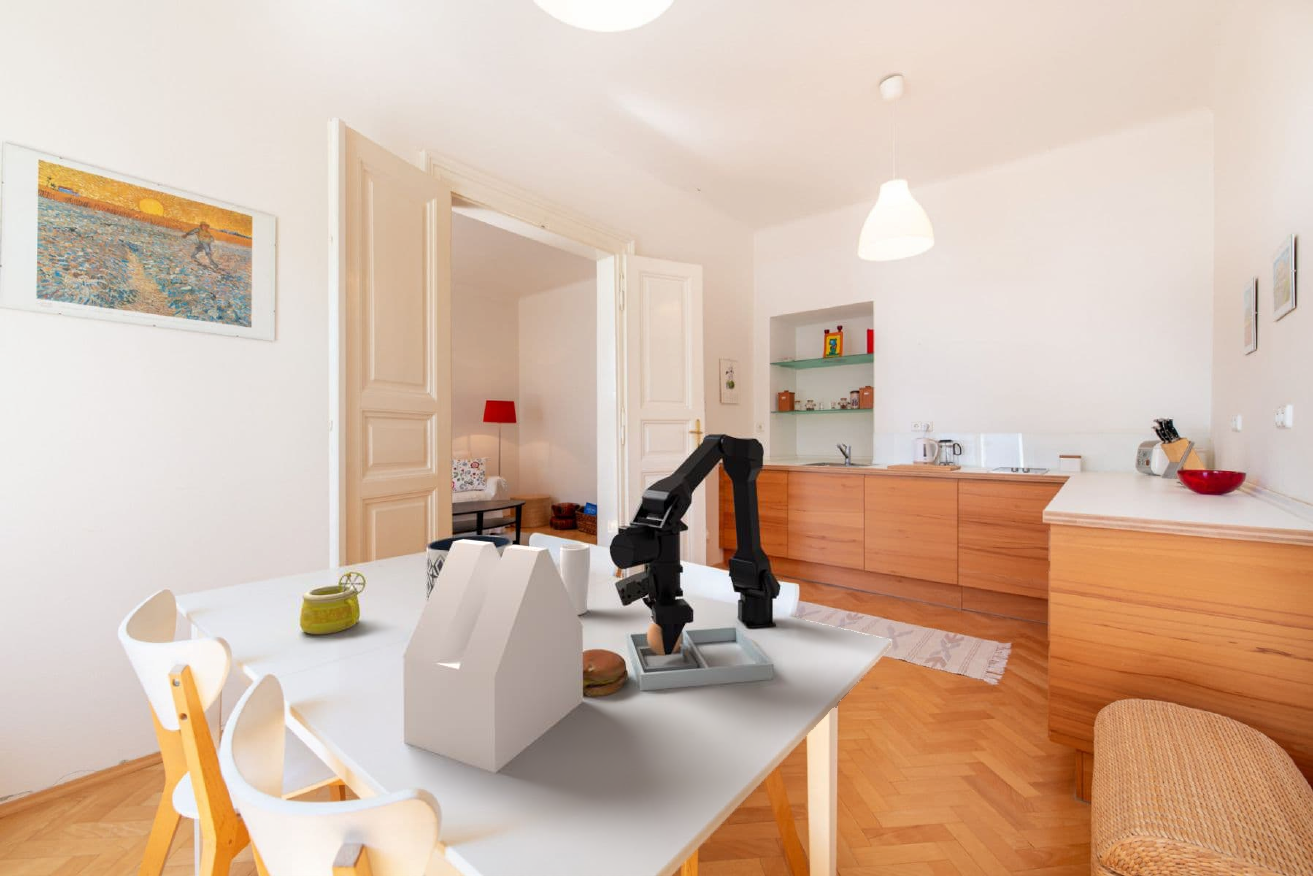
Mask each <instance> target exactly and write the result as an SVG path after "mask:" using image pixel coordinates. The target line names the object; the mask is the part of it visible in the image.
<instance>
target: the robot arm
mask: <svg viewBox="0 0 1313 876" xmlns="http://www.w3.org/2000/svg"><path fill="white" fill-rule="evenodd" d="M764 452H765V451H764V446H763V444H762V443H761V442H760V441H759V440H758V439H757V438H755V437H754V438H752V437H751V438H750V437H747V438H746V437H745V438H738V437H734V436H731V435H728V434H725V433H719V434H717V433H715V434H713V433H711V434H710V433H709V434H708V435H705V436H704V437H703V438H702V442H701V443H700V444H699V445H698V446H697V448H696V449H694V451H692V453H691V454H690V455H689V456H688V457H687V458H686V459H685V460H684V461H683V462H682V464H681V465H679V467H678V468H677V469H676V470H675V471H674V472H673V473H672V474H670V475H668V476H667V477H664V478H662V479H659V480H657V481H656V482H654V483H653V484H652V485H650V486H649V487H647V488H645V490H644V492H643V493H642V496H641V500H640V502H639V504H638V506H637V508H636V510H635V512H634V514H633V516H632V519H631V520H630V522H629V525H621V526H618V528H617V530H618V531H617V534H616V535H615V536H613V538H612V540H611V543H610V546H609V554H610V558H611V560H612V562H613V564H614V565H615V566H616V567H617V568H618V569H620V570H627V569H631V568H635V567H639V566H642V565H643V571H641V572H638V573H635V574H632V575H629V576H627V577H625V578H622V579H620V580H618V581H616V582H615V583H614V585H615V588H616V591H617V593H618V594H617V595H618V596H619V599H620V601H621V604H622V606H623V607H625V606H629V605H632V603H634V602H636V601H638V600H642V601H643V604H644V605H645V606H646V607H647V608H648V609H649V610H650V611H651V616H650V617H651V619H652V621H653V623H655V624H657V625H658V626H660V631H661V636H662V642H663V648H664V653H665V655H670V654H672V651H673V649H674V647H675V645H676V643H677V640H678V638H679V636H680V634H681V632H682V630H684V628H685V626H686V624H691V623H693V622H694V609H693V607H692V606H691V605H690V604H689V602H688V601H686V600H685V599H684V598H681V597H684V590H683V589H682V587H681V574H683V573H684V567H683V565H682V564H681V532H686V531H688V530H689V526H688V525H687V524H686V523H685V522H683V521H682V519H683V518H684V516H685V515H686V513H687V511H688V509H690V506H691V505H692V503H693V501H692V500H693V493H694V491H695V490H696V489H697V488H698V487H699V485H701V483H702V482H703V481H704V480H705V478H706V477H707V476H708V475H709V474H710V473H711V472H712V471H713V469H714V468H715V467H716V466H717V465H718V463H720V461H721V460H722V466H723V470H724V471H725V473H726V475H727V476H728V477H729V478H728V479H730V481H731V483H732V496H733V508H734V509H733V510H734V523H735V535H736V536H735V537H736V550H735V551H734V554H733V556H732V557H729V558H728V561H727V563H728V569H729V571H728V577H730V580H731V584H732V589H733V591H734V593H739V595H740V596H739V597H740V599H738V600H737V619H738V620H739V621H740V622H741V623H742V624H743V625H744V627H745V628H747V629H755V628H766V627H768V628H769V627H776V626H777V623H776V622H775V621H774V618H773V617H774V609H773V608H774V603H773V601H774V599H778V597H779V596H780V591H781V584H780V582H779V581H778V580H777V578H776V577H775V575H774V574H773V572H772V568H771V567H772V566H771V561H770V558H769V557H768V555H767V553H766V552H765V551H764V549H763V548H762V543H761V530H760V529H761V527H760V517H759V516H760V515H759V513H760V512H759V502H758V501H759V500H758V487H757V479H758V477H759V475H760V474H761V471H762V470H763V467H764V455H765V453H764ZM679 597H680V598H679Z"/></svg>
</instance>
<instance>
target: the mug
mask: <svg viewBox="0 0 1313 876" xmlns="http://www.w3.org/2000/svg"><path fill="white" fill-rule="evenodd" d="M352 574H355V575H356V576H355V578H354V579H353V582H352V580H351V577H352ZM344 577H345V578H346V580H345V582H342V580H343V579H344ZM359 577H360V578H361V579H362V581H363V582H356V580H357V579H358V578H359ZM348 582H349V583H348ZM366 584H367V583H366V578H365V576H364V575H362V573H361V572H358V571H349V572H345V574H343V575H342V576H341V577H340V578H339V582H338V584H332V585H324V586H323V585H322V586H319V587H315V588H312V589H310V590H308V591H306V592H305V593H304V594H303V595H302V598H303V599H302V600H303V602H302V604H301V611H300V617H299V626H300V628H301V630H302V631H304V633H308V634H311V635H327V634H334V633H338V632H341V631H344V630H347V629H350V628H351V627H353V626H355V625H356V624H357V623H358V621H359V620H360V616H361V610H360V604H359V598H358V595H359V594H361V593H362V592H363V591H364V589H365V587H366ZM355 585H360V586H362V588H361V590H360V591H358V588H357V587H355Z"/></svg>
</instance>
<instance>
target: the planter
mask: <svg viewBox="0 0 1313 876" xmlns="http://www.w3.org/2000/svg"><path fill="white" fill-rule="evenodd" d="M463 539H464V540H474V541H483V542H493V543H494V545H495V547H496V549H497V551H498V553H499V555H500V557H502V554H503V552H504V549H505V547H508V546H512V545H514V544H513V539H512V538H510V537H508V536H502V535H493V534H492V535H491V534H489V535H487V534H482V535H481V534H479V535H478V534H475V535H464V536H463V535H462V536H454V537H452V536H451V537H446V538H442V539H438V540H434V541H431V542H429V543H428V544H427V545H426V555H425V558H426V559H425V560H426V602H427V601H428V598H429V596H430V594H431V592H432V589H433V587H434V585H435V582H436V580H437V578H438V576H439V573H440V571H441V569H442V566H443V564H444V562H445V560H446V557H447V555H448V553H449V550H450V548H451V546H452V544H453V542H454V541H458V540H463Z"/></svg>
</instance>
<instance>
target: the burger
mask: <svg viewBox="0 0 1313 876" xmlns="http://www.w3.org/2000/svg"><path fill="white" fill-rule="evenodd" d="M628 676H629V672H628V670H627V663H626V661H625V659H624V657H623V656H622V655H620V654H618V653H617V652H614V651H611V650H608V649H602V648H598V649H597V648H593V649H588V650H585V651H584V650H583V694H585V695H586V696H587V697H592V698H597V697H606V696H608V695H609V696H610V695H613V694H614V693H616V692H617V691H620V689H621V688H622V685H624V683H626V681H627V679H628V678H627V677H628Z"/></svg>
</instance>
